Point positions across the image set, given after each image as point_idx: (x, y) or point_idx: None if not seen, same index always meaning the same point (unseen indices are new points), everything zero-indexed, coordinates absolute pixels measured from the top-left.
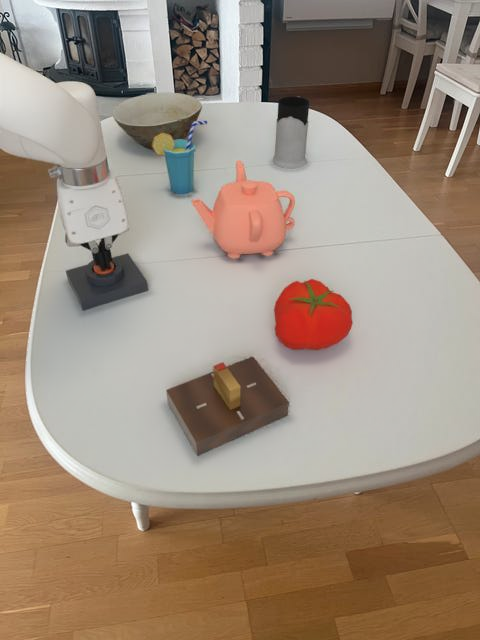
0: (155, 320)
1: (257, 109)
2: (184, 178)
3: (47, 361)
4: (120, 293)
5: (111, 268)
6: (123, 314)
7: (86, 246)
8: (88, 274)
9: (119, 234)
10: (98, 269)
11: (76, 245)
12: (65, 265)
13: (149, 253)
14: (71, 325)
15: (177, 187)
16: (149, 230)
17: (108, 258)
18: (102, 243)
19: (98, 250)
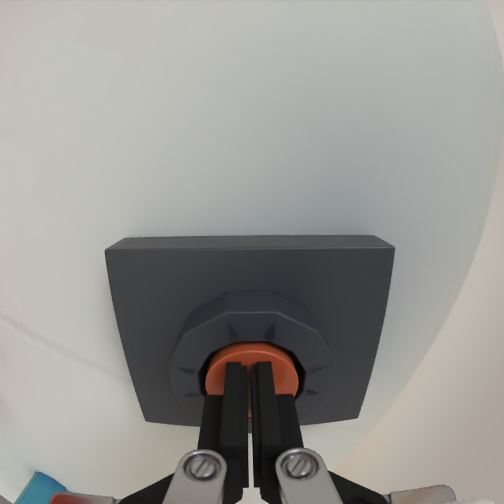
0: (159, 64)
1: (4, 495)
2: (34, 493)
3: (484, 88)
4: (226, 242)
5: (223, 363)
6: (252, 141)
7: (348, 491)
8: (330, 365)
9: (111, 501)
10: (280, 379)
11: (405, 495)
12: (324, 441)
13: (97, 399)
14: (423, 182)
15: (51, 489)
16: (97, 454)
17: (225, 404)
18: (233, 491)
19: (278, 459)
